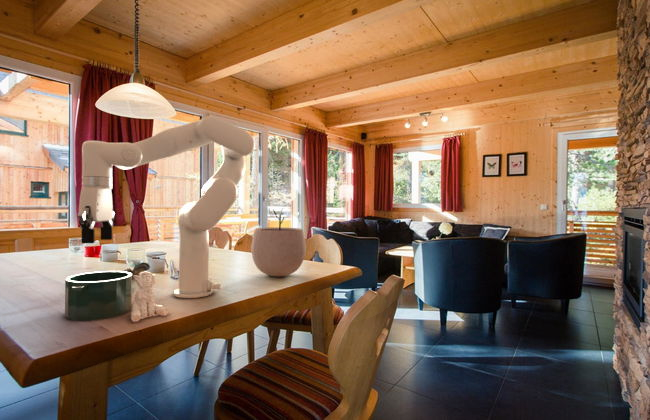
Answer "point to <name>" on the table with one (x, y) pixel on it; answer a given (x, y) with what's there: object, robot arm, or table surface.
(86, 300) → the pot
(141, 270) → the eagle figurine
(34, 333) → the table surface
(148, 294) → the seated beast figurine
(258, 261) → the plant pot
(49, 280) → the table surface
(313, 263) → the table surface
